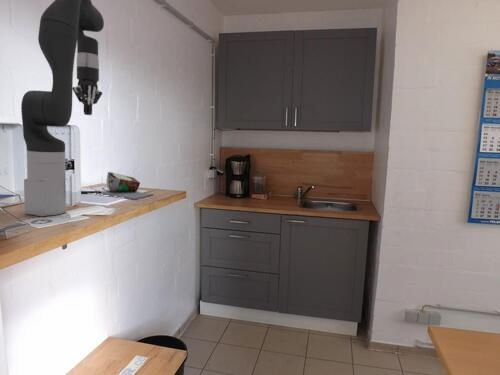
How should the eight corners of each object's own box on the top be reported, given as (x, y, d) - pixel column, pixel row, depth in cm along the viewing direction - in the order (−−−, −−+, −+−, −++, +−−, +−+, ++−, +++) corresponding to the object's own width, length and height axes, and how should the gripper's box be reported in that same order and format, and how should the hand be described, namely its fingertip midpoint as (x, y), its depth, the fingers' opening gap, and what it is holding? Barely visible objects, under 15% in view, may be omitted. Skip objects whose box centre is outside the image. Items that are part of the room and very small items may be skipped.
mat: (134, 199, 127) (134, 198, 127) (93, 194, 132) (93, 193, 132) (153, 195, 138) (153, 194, 138) (114, 190, 143) (114, 189, 143)
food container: (128, 191, 148) (103, 186, 142) (132, 176, 148) (107, 171, 142) (137, 198, 138) (110, 193, 132) (141, 183, 137) (114, 177, 132)
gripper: (82, 63, 125) (82, 113, 128) (108, 70, 138) (108, 116, 140) (65, 63, 128) (66, 113, 130) (92, 70, 140) (92, 115, 143)
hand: (88, 114), depth 135 cm, fingers closed
